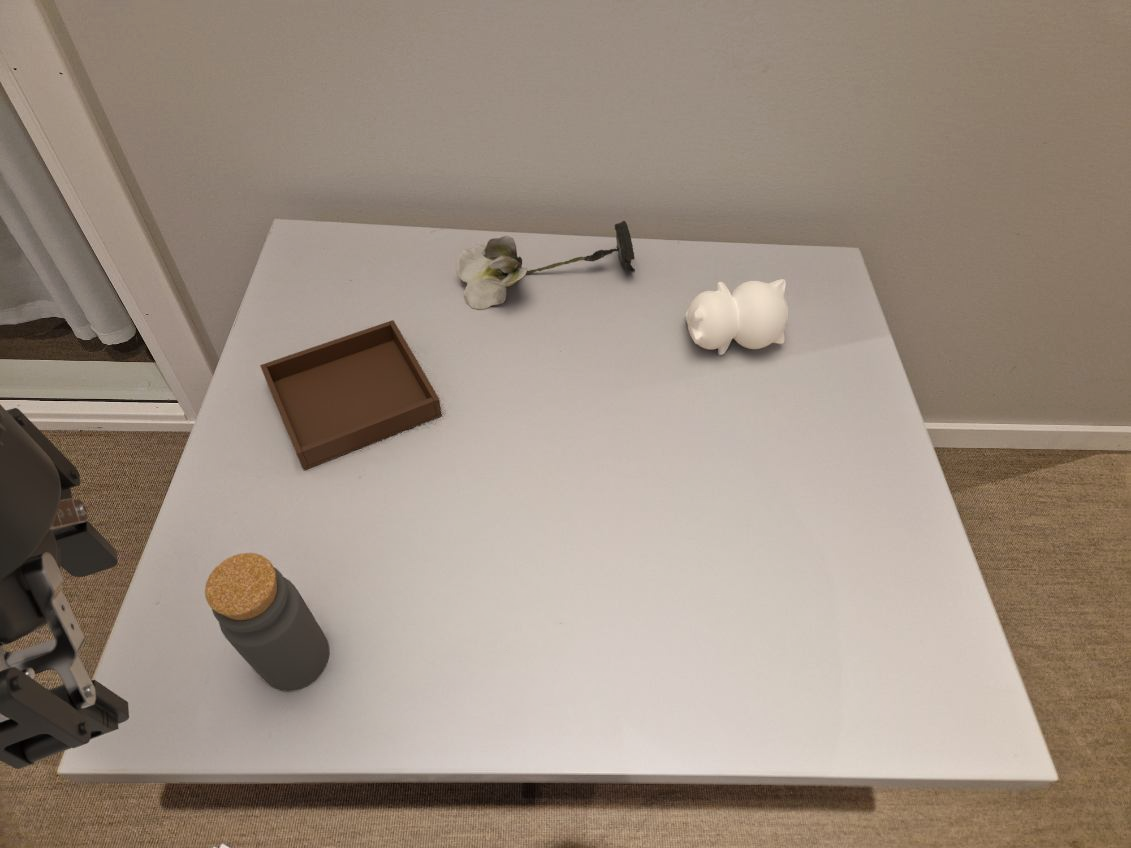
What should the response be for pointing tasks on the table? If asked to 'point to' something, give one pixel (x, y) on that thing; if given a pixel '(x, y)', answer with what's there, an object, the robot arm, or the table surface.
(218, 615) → the bottle
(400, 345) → the tray
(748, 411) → the table surface
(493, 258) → the artificial flower
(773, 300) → the cat figurine
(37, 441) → the robot arm
